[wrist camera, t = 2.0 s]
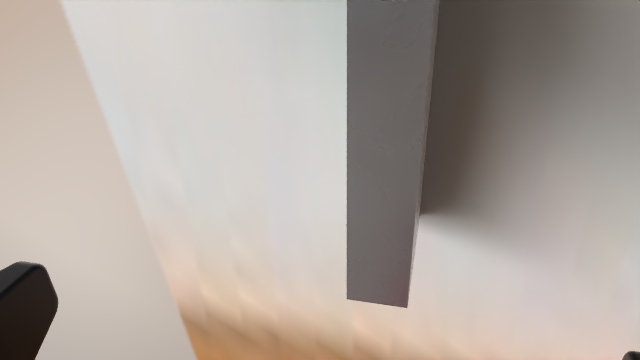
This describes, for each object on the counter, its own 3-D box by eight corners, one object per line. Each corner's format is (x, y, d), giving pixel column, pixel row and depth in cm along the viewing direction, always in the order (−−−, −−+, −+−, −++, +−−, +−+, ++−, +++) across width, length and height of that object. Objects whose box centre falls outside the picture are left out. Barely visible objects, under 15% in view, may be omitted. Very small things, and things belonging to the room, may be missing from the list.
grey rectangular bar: (460, -218, 15) (452, -203, 11) (420, 212, 23) (407, 308, 19) (381, -216, 15) (346, -202, 11) (369, 206, 24) (346, 298, 20)
